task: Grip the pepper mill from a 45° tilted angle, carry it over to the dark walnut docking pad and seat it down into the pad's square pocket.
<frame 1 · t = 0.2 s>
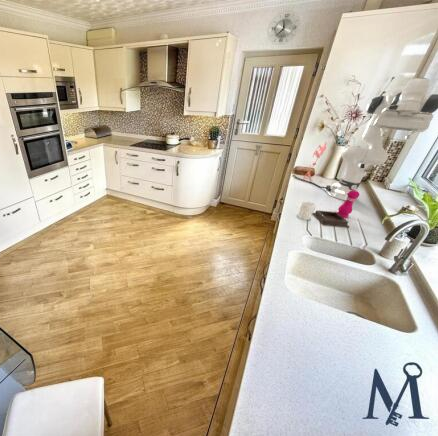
hand: (394, 137, 120), 54 cm above the worktop, tool tilted 30°, fingers open, 8 cm apart
dock pad: (329, 220, 153), on the worktop
pepper mill: (341, 215, 160), on the worktop
figurine: (311, 180, 220), on the worktop
white cup: (303, 217, 155), on the worktop
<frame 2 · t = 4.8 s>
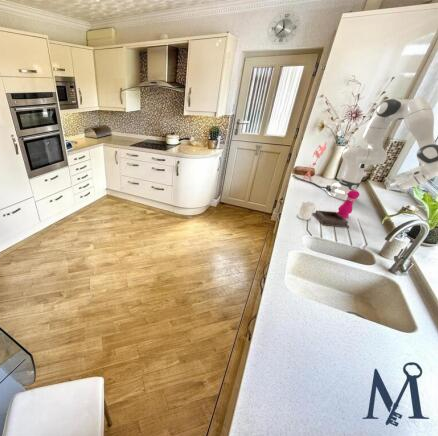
hand: (385, 186, 141), 25 cm above the worktop, tool tilted 45°, fingers open, 8 cm apart
nothing on the worktop moved.
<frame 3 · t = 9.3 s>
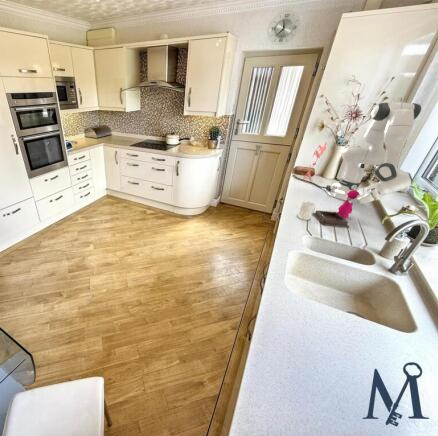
hand: (348, 200, 154), 11 cm above the worktop, tool tilted 45°, fingers closed on pepper mill, 5 cm apart
pepper mill: (341, 215, 160), on the worktop, touching gripper
everything else where it was.
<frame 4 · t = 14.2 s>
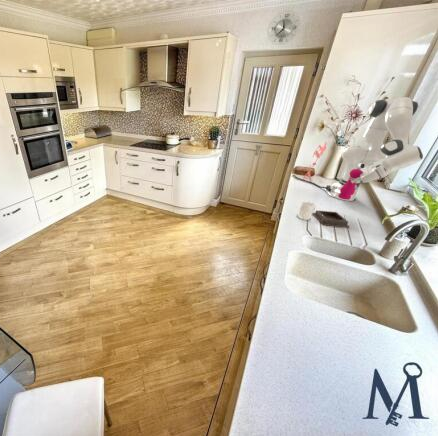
hand: (351, 180, 141), 27 cm above the worktop, tool tilted 45°, fingers closed on pepper mill, 5 cm apart
pepper mill: (343, 198, 146), point 16 cm above the worktop, touching gripper
everything else where it was.
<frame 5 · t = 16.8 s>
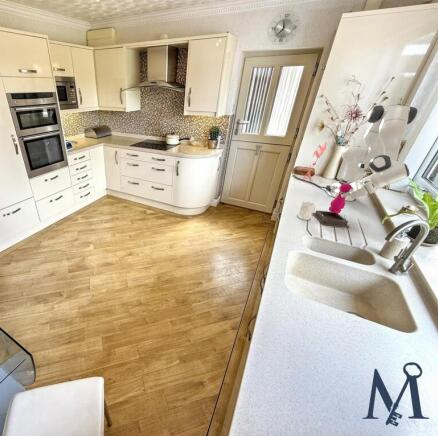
hand: (341, 194, 144), 18 cm above the worktop, tool tilted 45°, fingers closed on pepper mill, 5 cm apart
pepper mill: (334, 211, 149), point 7 cm above the worktop, touching gripper
everything else where it was.
when the fingers open (12 cm above the worktop, at t = 19.0 s): pepper mill stays where it is, resting on dock pad.
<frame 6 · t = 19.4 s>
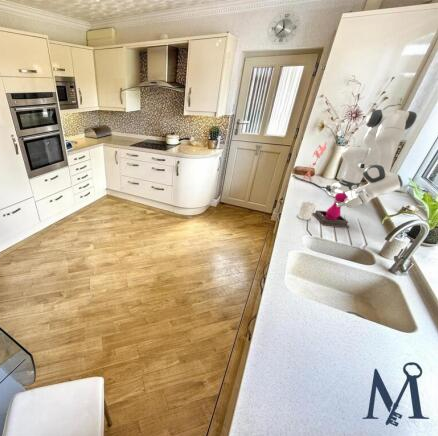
hand: (336, 203, 147), 12 cm above the worktop, tool tilted 45°, fingers open, 8 cm apart
pepper mill: (330, 219, 152), point 1 cm above the worktop, touching dock pad
everything else where it was.
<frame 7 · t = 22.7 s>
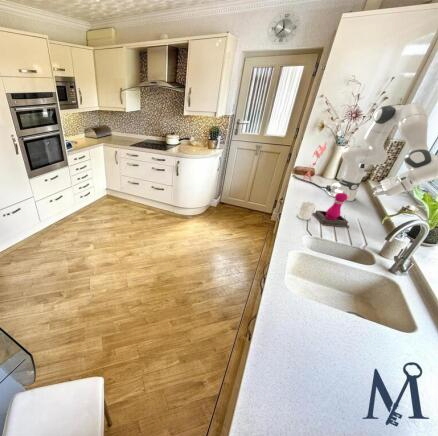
hand: (372, 192, 135), 24 cm above the worktop, tool tilted 45°, fingers open, 8 cm apart
nothing on the worktop moved.
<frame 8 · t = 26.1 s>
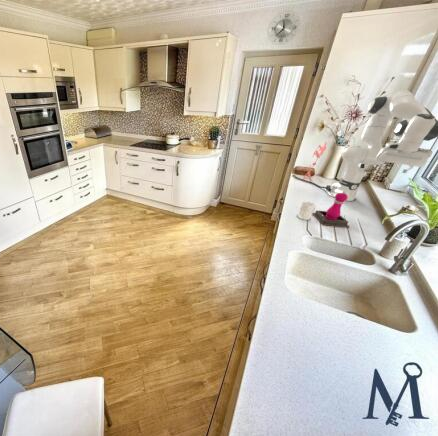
hand: (393, 170, 134), 35 cm above the worktop, tool pointing down, fingers open, 8 cm apart
nothing on the worktop moved.
at the end: pepper mill 0.1 cm off-centre on the dock pad, point 0.8 cm above the dock pad's base; pepper mill tilted 0°; the gripper is holding nothing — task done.
